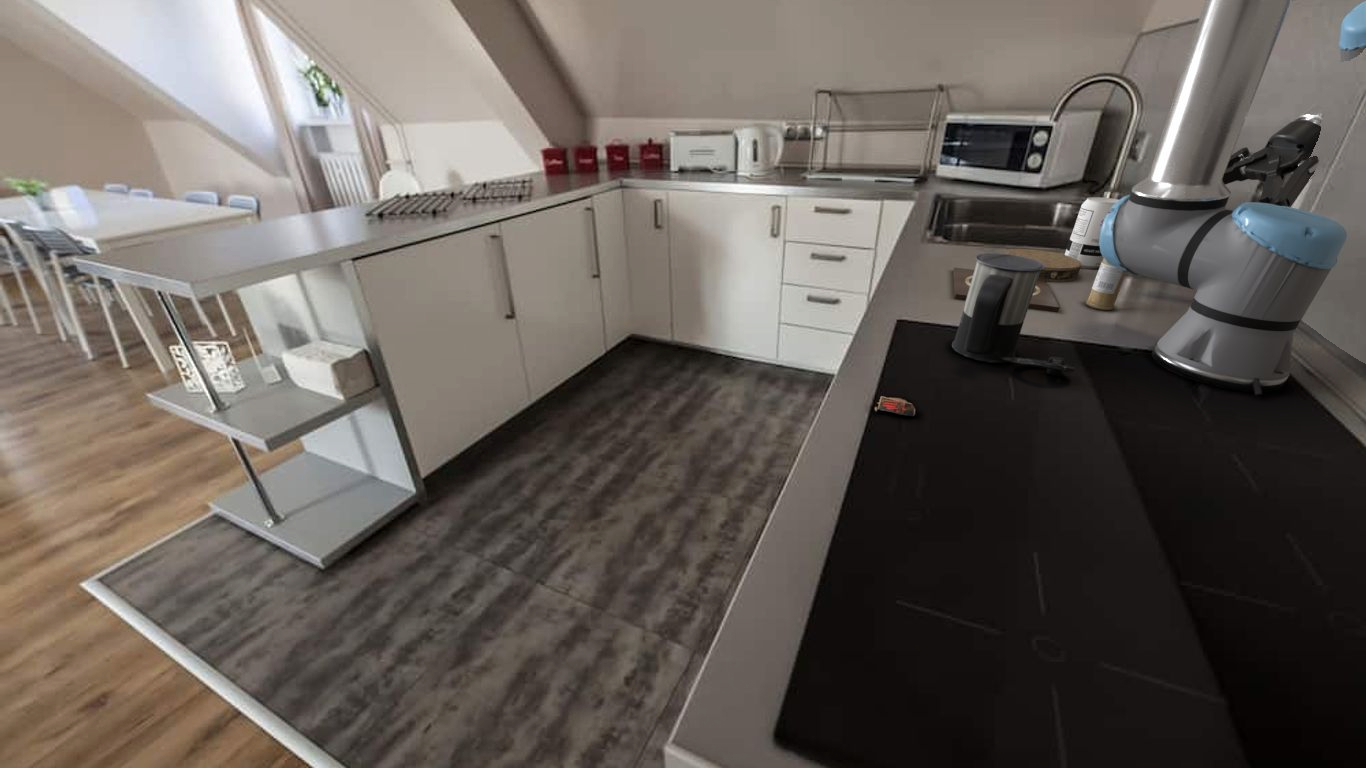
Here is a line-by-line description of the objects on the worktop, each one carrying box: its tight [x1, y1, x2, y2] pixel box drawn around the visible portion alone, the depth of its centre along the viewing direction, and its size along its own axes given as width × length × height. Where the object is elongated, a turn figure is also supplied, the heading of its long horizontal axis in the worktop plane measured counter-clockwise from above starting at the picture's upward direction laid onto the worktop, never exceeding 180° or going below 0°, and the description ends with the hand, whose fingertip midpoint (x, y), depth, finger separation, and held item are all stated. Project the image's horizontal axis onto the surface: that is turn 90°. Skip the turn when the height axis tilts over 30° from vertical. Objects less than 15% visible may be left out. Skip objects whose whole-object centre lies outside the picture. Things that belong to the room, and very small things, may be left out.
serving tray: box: [952, 267, 1060, 313], centre depth 116 cm, size 20×18×1 cm
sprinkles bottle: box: [1085, 258, 1128, 311], centre depth 105 cm, size 5×5×14 cm
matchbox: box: [874, 395, 916, 417], centre depth 73 cm, size 5×5×1 cm
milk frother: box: [951, 252, 1076, 376], centre depth 83 cm, size 14×16×15 cm
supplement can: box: [1064, 196, 1119, 269], centre depth 131 cm, size 8×8×15 cm
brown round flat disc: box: [1001, 248, 1081, 283], centre depth 128 cm, size 16×16×3 cm
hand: (1185, 226), depth 101 cm, fingers open, 13 cm apart
